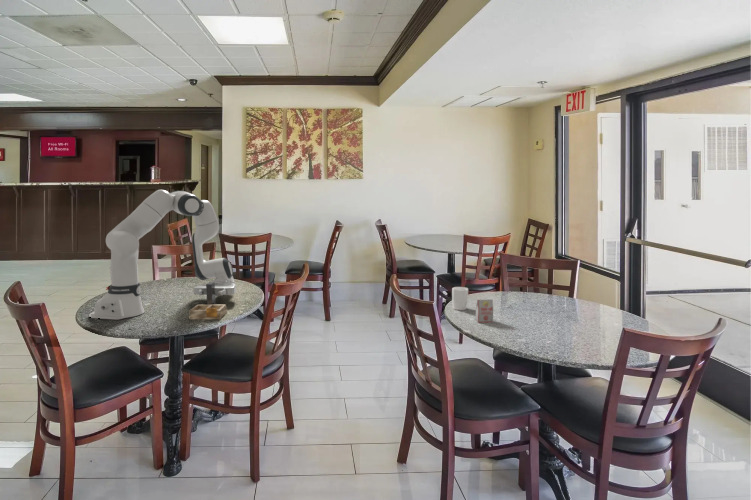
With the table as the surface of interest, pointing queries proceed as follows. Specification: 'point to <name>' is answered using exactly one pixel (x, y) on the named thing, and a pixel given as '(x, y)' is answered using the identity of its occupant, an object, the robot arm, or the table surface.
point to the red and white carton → (484, 311)
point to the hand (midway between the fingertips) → (210, 293)
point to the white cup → (459, 298)
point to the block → (210, 293)
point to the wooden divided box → (208, 312)
